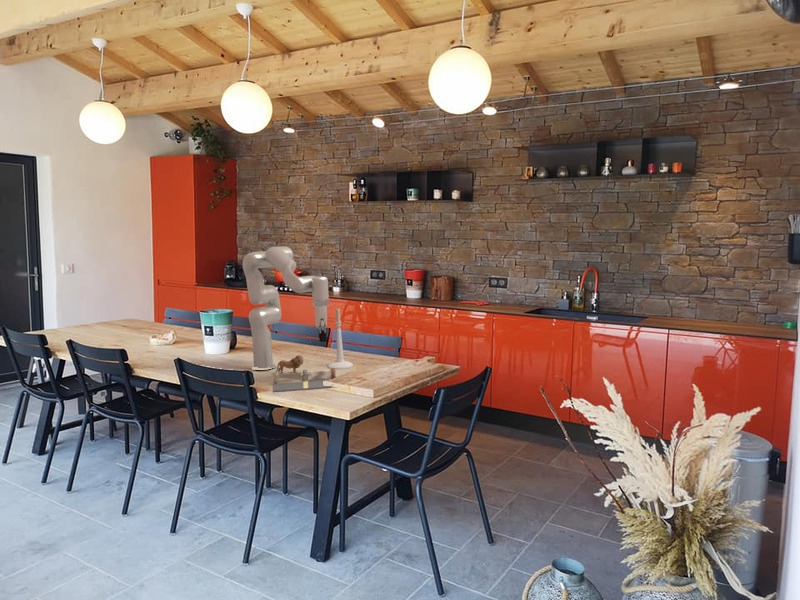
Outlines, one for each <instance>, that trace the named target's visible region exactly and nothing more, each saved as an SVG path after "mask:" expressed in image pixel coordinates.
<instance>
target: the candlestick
mask: <svg viewBox="0 0 800 600" xmlns="http://www.w3.org/2000/svg"><path fill="white" fill-rule="evenodd" d="M335 316H336V317H335V319H336V321H335V322H334V324H335V326H336V328H337V329H336V360H335V361H333V362H331V363H329V364H328V365H327V367H328V369H329V370H331V368H335V370H346V369H350V368H353V367H354V364H353V363H352V362H350V361H348V360H345V358H344V357H345V356H344V351H343V350H344V348H343V341H342V340H343V339H342V329H341V327H342V321H341V309H340V308H336V309H335Z"/></svg>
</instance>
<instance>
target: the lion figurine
mask: <svg viewBox="0 0 800 600" xmlns="http://www.w3.org/2000/svg"><path fill="white" fill-rule="evenodd" d="M303 364H304V357H303V355H300V354H297V355H296V356H295V357H293V358H291V359H290V360H284V359H282V360H280V361H278V364H277V365H276V371H275V372H281V373H280V374H285V373H284V372H283V371H284V368H286V369H292V371H293V373H298V372H297V369H299V368H300V367H301V366H302V365H303Z"/></svg>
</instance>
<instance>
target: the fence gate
mask: <svg viewBox="0 0 800 600" xmlns="http://www.w3.org/2000/svg"><path fill="white" fill-rule="evenodd" d="M307 375H308V378H309V380H317V379H330V378H332V379H333V378H336V369H335V368H331V369H329V370H317V371H307ZM336 379H337V378H336Z"/></svg>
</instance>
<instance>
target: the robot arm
mask: <svg viewBox="0 0 800 600" xmlns="http://www.w3.org/2000/svg"><path fill="white" fill-rule="evenodd" d="M268 268H275V269H276V270H277V271H278V272H280V274H281V277H282V279H283V280H282V281H283V282H284V284H285V286H287V287H288V288H289V289H290V290H291V291H293V292H295V293H296V294H302V293H311V295H312V307H313V308H314V314H315V315H314V316H315V318H314V319H315V327H316V328H317V329H318V339H319V342H320V343H324V342H325V343H326V342H327V341H328V339H327V332H326V331H327V330H326V328H327V326H328V312H327V311H328V308H327V307H329V306H330V299H329V281H328V277H326V276H323V275H322V276H316V275H305V276H297V275H296V274H295V271H296V269H297V263H296V261H295V260H294V252H293V250H292V249H291V248H290V247H289V246H286V245H284V246H282V245H281V246H271V247H269V248H268V249H267V250H266V251H265V250H264V251H261V250H260V251H253V252H252V251H251V252H249V253H247V254H246V255H244V257H243V260H242V270H243V273H244V276H245V280H246V286H247V287H246V288H247V295H248V300H249V302H250V303H251V305H254V306H259V305H260V306H259V307H255V308H252V309H251V310H250V311H249V313H248V321H249V325H250V330H251V339H252V355H253V366H254V367H258V368H268V367H269V368H273V367H276V368H277V365H276V363H275V364H274V360H273V345H272V333H271V331H270V328H269V327H268V325H275V324H278V323H280V321H281V319H282V307H281V301H280V293H279V291H278V289H277V287H275V286H274V285H272V284H266V285H265V282H264V281H265V279H264V276H263V274H262V272H261V271H260V270H259V269H268ZM261 305H265V306H261ZM273 364H274V365H273Z"/></svg>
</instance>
